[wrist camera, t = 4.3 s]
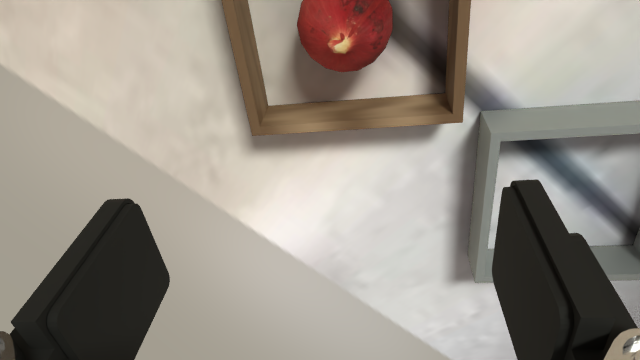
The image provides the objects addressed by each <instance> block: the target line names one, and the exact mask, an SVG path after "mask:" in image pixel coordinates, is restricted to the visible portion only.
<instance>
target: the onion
mask: <svg viewBox="0 0 640 360" xmlns="http://www.w3.org/2000/svg"><path fill="white" fill-rule="evenodd" d="M297 27H298V31H299V36H300V40H301V44H302V45H303V47H304V48H305V50H306V51H307V52H308V54H309V55H310V57H311V58H312V59H314V60H315V61H316V62H318V63H319V64H321V65H322V66H324V67H325V68H328V69H331V70H335V71H339V72H348V71H357V70H360V69H362V68H364V67H365V66H367V65H369V64H371V63H373V62H374V61H375V60H376V59H377V57H378V56H379V55H380V54H381V53H382V52H383V50H384V49H385V48H386V45H387V43H388V40H389V38H390V35H391V33H392V29H393V25H392V7H391V5H390V3H389V0H303V1H302V3H301V8H300V12H299V17H298V22H297Z"/></svg>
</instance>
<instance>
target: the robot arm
mask: <svg viewBox="0 0 640 360" xmlns="http://www.w3.org/2000/svg"><path fill="white" fill-rule="evenodd" d="M492 277H493V282H494V285H495V288H496V292H497V295H498V298H499V301H500V305H501V308H502V311H503V314H504V317H505V321H506V324H507V327H508V330H509V334H510V337H511V340H512V343H513V346H514V350H515V353H516V356H517V359H518V360H640V328H637V326H636V324H635V323H634V321H633V319H632V318H631V316H630V314H629V313H628V311H627V309H626V308H625V306H624V304H623V302H622V301H621V299H620V297H619V296H618V294H617V292H616V291H615V289H614V287H613V286H612V284H611V282H610V281H609V279H608V277H607V276H606V274H605V272H604V270H603V269H602V267H601V265H600V264H599V262H598V260H597V259H596V257H595V255H594V254H593V252H592V250H591V249H590V247H589V245H588V244H587V242H586V240H585V239H584V238H583V236H582V235H580V234H578V233H568V231H567V229H566V227H565V225H564V224H563V222H562V220H561V218H560V216H559V215H558V213H557V211H556V209H555V208H554V206H553V204H552V202H551V200H550V199H549V197H548V195H547V193H546V191H545V190H544V188H543V186H542V184H541V183H540V181H539V180H519V181H512V182H511V185H510V187H504V188H503V190H502V196H501V203H500V211H499V218H498V226H497V233H496V240H495V248H494V255H493V263H492ZM169 282H170V279H169V273H168V271H167V269H166V266H165V264H164V262H163V259H162V257H161V254H160V252H159V250H158V247H157V245H156V243H155V240H154V238H153V236H152V233H151V231H150V229H149V226H148V224H147V221H146V219H145V217H144V215H143V212H142V210H141V208H140V206H139V205H138V204H135V203H134V202H133V201H132V200H131V199H110V200H107V201H106V202H104V204H103V205H102V206H101V207H100V209H99V210H98V211H97V213H96V214H95V215H94V216H93V218H92V219H91V220H90V221H89V223H88V224H87V225H86V227H85V228H84V229H83V230H82V232H81V233H80V234H79V235H78V237H77V238H76V239H75V241H74V242H73V243H72V244H71V246H70V247H69V248H68V250H67V251H66V252H65V253H64V255H63V256H62V257H61V259H60V260H59V261H58V262H57V263H56V265H55V266H54V267H53V269H52V270H51V271H50V272H49V274H48V275H47V276H46V278H45V279H44V280H43V281H42V283H41V284H40V285H39V287H38V288H37V289H36V290H35V292H34V293H33V294H32V295H31V297H30V298H29V299H28V300H27V302H26V303H25V304H24V306H23V307H22V308H21V309H20V311H19V312H18V313H17V315H16V316H15V317H14V319H13V320H12V321H11V323H12V324H13V326H14V327H15V328H14V330H13V331H12V332H11V333H10V334H8V333H6V332H4V331H0V360H134V359H135V357H136V355H137V352H138V350H139V348H140V346H141V344H142V342H143V340H144V338H145V335H146V333H147V331H148V329H149V327H150V325H151V323H152V321H153V319H154V317H155V314H156V312H157V310H158V308H159V306H160V304H161V302H162V300H163V298H164V295H165V293H166V291H167V289H168V286H169Z"/></svg>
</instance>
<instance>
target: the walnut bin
mask: <svg viewBox="0 0 640 360" xmlns="http://www.w3.org/2000/svg"><path fill="white" fill-rule="evenodd" d="M222 4H223V9H224V13H225V17H226V22H227V26H228V31H229V35H230V39H231V44H232V48H233V53H234V57H235V61H236V66H237V70H238V75H239V79H240V84H241V88H242V92H243V97H244V101H245V106H246V110H247V114H248V119H249V123H250V128H251V132H252V136H257V135H273V134H289V133H304V132H320V131H336V130H351V129H367V128H383V127H399V126H414V125H430V124H446V123H462V122H463V110H464V95H465V80H466V65H467V51H468V36H469V21H470V7H471V0H449V17H448V40H447V64H446V88H445V93H441V94H427V95H413V96H399V97H385V98H371V99H358V100H344V101H330V102H316V103H302V104H289V105H275V106H268V102H267V97H266V92H265V86H264V81H263V76H262V71H261V66H260V61H259V56H258V51H257V46H256V41H255V35H254V30H253V25H252V20H251V15H250V10H249V5H248V0H222Z"/></svg>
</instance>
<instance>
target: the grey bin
mask: <svg viewBox="0 0 640 360" xmlns="http://www.w3.org/2000/svg"><path fill="white" fill-rule="evenodd" d="M622 134H640V101H628V102H613V103H598V104H583V105H568V106H553V107H538V108H523V109H508V110H493V111H481V114H480V125H479V136H478V147H477V158H476V169H475V180H474V191H473V202H472V212H471V223H470V234H469V245H468V258H469V262H470V266H471V270H472V274H473V277H474V281H475V283H494V282H493V277H492V263H493V255H494V249H487V248H488V240H489V232H490V224H491V216H492V208H493V200H494V192H495V183H496V175H497V167H498V159H499V151H500V143H501V141H518V140H535V139H553V138H570V137H587V136H605V135H622ZM589 247H590V249H591V250H592V252H593V254H594V255H595V257H596V259H597V260H598V262H599V264H600V265H601V267H602V269H603V270H604V272H605V274H606V276H607V277H608V279H609V281H612V280H640V227H639V230H638V233H637V236H636V238H635V241H634V244H633V245H620V246H589Z"/></svg>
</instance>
